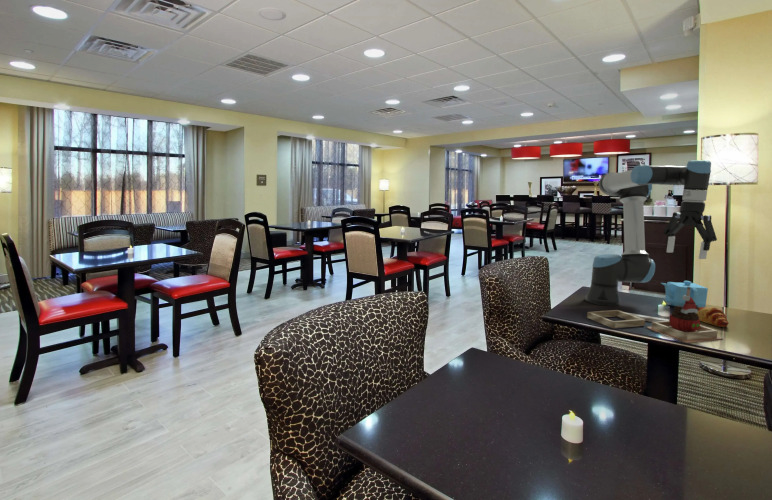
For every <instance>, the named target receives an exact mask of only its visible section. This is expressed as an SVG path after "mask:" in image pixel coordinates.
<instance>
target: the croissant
mask: <svg viewBox="0 0 772 500" xmlns="http://www.w3.org/2000/svg"><path fill="white" fill-rule="evenodd" d="M696 314H698V316H699V319H700V323H701V322H702V323H704V324H709V325H712V326H713V327H714V326H716V327H721V328H722V327H727V326H728V325H729V321H728V319H727V318H728V317H727V316H726V314H725V313H724V311H723V310H721V309H719V308H717V307H713V306H712V307H711V306H708V307H706V306H705V307H699V309H698V313H696Z"/></svg>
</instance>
